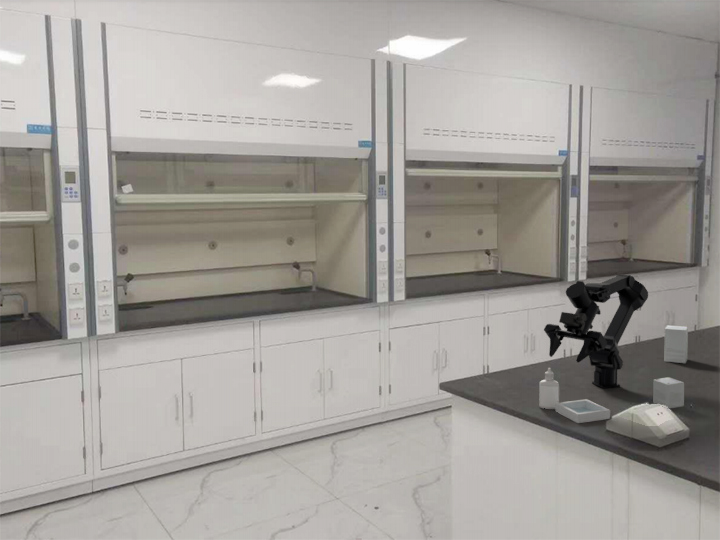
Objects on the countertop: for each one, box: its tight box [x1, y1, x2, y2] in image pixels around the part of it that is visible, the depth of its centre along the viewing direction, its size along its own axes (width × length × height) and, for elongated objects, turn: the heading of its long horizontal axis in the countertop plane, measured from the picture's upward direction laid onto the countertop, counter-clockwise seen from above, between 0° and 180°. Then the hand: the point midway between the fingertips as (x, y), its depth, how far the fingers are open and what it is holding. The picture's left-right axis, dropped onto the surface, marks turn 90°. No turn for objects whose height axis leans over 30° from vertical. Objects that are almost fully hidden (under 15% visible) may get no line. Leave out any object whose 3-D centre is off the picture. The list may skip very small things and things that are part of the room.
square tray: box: [555, 398, 611, 424], centre depth 181 cm, size 10×10×2 cm
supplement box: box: [663, 324, 689, 364], centre depth 237 cm, size 7×7×13 cm
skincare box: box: [652, 377, 685, 409], centre depth 188 cm, size 6×6×7 cm
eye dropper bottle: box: [538, 367, 560, 410], centre depth 188 cm, size 4×6×12 cm
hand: (563, 358), depth 192 cm, fingers open, 9 cm apart
